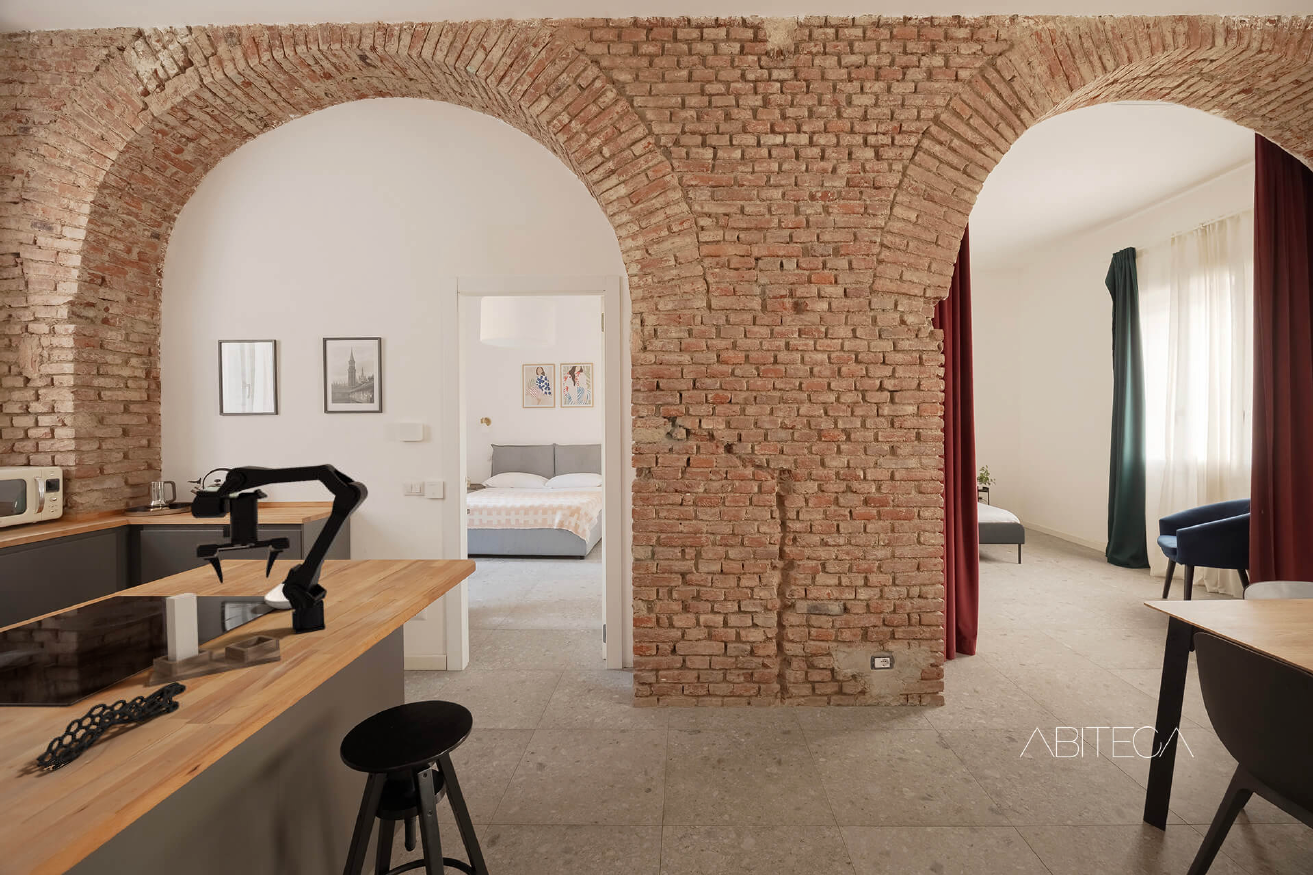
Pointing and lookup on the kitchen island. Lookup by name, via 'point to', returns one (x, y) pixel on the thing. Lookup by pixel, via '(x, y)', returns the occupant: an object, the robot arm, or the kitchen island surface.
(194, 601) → the beige rectangular block
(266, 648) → the double compartment tray
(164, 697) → the decorative element
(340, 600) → the kitchen island surface
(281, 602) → the spoon rest
